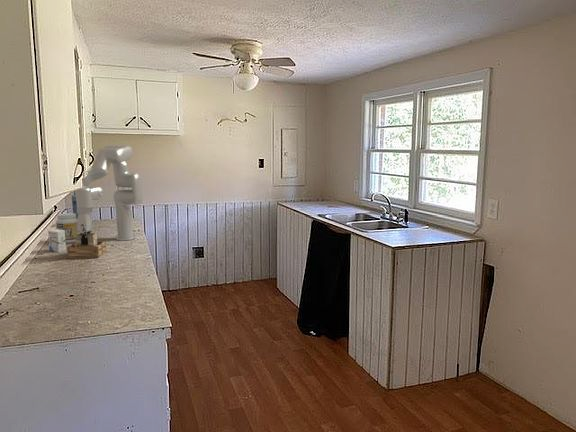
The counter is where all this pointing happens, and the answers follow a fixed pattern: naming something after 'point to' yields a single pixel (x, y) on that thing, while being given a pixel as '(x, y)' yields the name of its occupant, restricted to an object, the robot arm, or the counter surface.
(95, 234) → the small crate
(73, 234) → the supplement tub
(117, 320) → the counter surface
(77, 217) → the bottle
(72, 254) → the crate
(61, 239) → the ink box
